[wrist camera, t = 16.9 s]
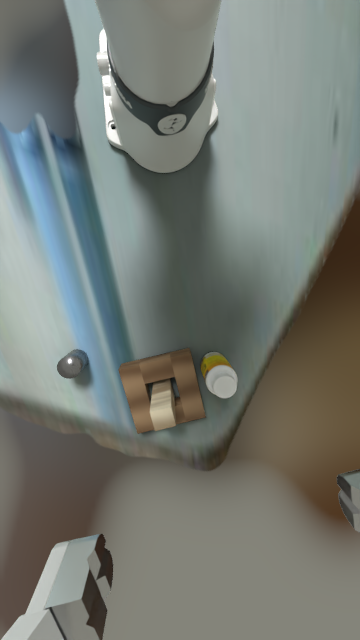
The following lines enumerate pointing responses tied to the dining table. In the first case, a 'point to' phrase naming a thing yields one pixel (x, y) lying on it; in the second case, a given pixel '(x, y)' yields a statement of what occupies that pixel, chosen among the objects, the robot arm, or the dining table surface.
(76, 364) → the short pin
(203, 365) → the supplement bottle
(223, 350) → the dining table surface
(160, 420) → the long pin
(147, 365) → the hole plate
